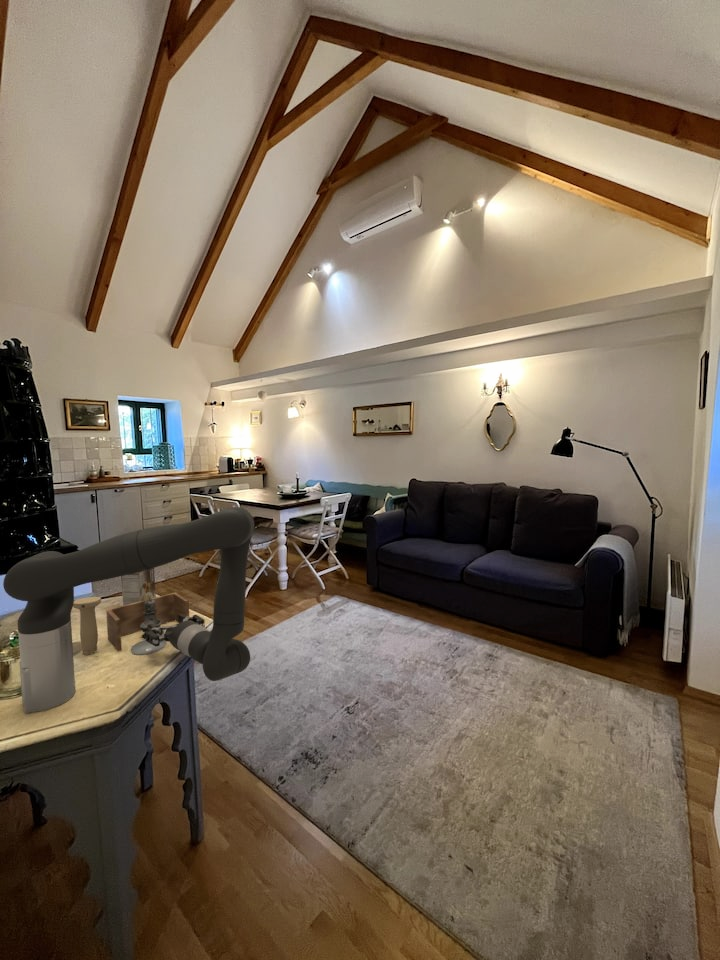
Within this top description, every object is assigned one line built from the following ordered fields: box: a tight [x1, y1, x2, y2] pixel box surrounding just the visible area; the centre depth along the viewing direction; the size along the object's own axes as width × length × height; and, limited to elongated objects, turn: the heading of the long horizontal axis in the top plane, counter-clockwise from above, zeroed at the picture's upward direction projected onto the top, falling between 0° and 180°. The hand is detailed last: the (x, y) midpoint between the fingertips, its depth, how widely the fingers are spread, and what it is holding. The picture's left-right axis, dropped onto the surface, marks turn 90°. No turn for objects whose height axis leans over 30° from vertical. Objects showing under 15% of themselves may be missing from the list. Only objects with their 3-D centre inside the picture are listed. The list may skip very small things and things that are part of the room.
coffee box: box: [120, 568, 157, 606], centre depth 134 cm, size 9×6×16 cm
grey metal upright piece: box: [140, 597, 162, 640], centre depth 119 cm, size 6×6×12 cm
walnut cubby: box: [105, 591, 190, 652], centre depth 120 cm, size 20×10×9 cm, turn 135°
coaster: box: [130, 639, 167, 656], centre depth 112 cm, size 9×9×1 cm
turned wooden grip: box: [73, 596, 102, 656], centre depth 108 cm, size 5×6×15 cm
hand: (164, 622), depth 113 cm, fingers open, 8 cm apart
